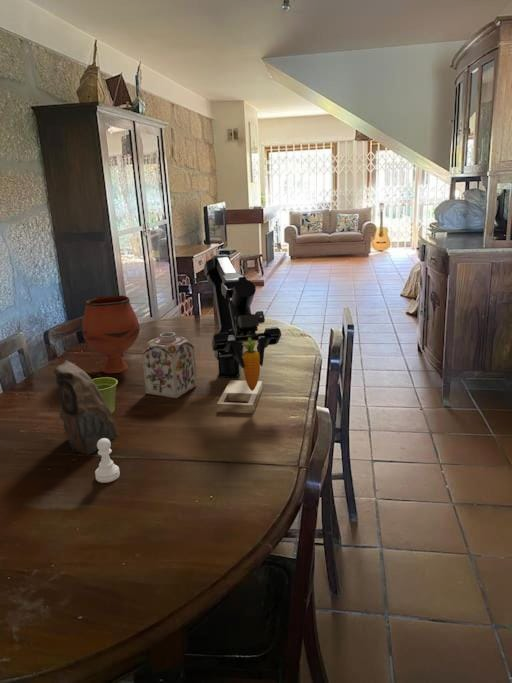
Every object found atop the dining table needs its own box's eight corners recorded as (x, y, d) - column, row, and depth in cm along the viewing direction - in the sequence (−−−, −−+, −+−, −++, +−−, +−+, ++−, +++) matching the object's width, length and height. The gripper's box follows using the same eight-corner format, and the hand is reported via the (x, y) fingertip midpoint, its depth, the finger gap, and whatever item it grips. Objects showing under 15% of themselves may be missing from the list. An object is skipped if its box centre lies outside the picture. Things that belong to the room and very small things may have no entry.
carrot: (258, 395, 136) (256, 342, 132) (240, 393, 138) (238, 340, 133) (263, 387, 141) (262, 336, 136) (246, 386, 142) (244, 335, 137)
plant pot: (127, 407, 144) (124, 378, 142) (108, 421, 136) (104, 391, 133) (99, 403, 147) (96, 376, 145) (79, 417, 139) (74, 387, 136)
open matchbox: (217, 411, 139) (216, 403, 139) (230, 387, 156) (230, 380, 156) (253, 413, 138) (252, 404, 137) (262, 388, 155) (262, 381, 154)
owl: (87, 458, 117) (76, 377, 111) (45, 449, 121) (32, 371, 116) (121, 434, 128) (112, 359, 122) (81, 427, 133) (70, 355, 127)
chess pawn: (101, 470, 112) (96, 433, 109) (123, 470, 111) (118, 433, 108) (91, 482, 107) (86, 444, 104) (114, 483, 106) (110, 445, 104)
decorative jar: (198, 385, 159) (194, 330, 154) (177, 399, 149) (173, 340, 144) (166, 381, 164) (161, 327, 159) (144, 393, 154) (139, 337, 149)
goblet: (132, 357, 189) (125, 291, 182) (151, 370, 174) (145, 299, 167) (80, 367, 179) (71, 298, 172) (96, 383, 164) (86, 308, 157)
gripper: (211, 304, 133) (221, 357, 126) (279, 298, 138) (292, 349, 131) (207, 325, 143) (217, 375, 136) (271, 319, 147) (283, 367, 140)
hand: (252, 366), depth 136 cm, fingers closed on carrot, 5 cm apart
